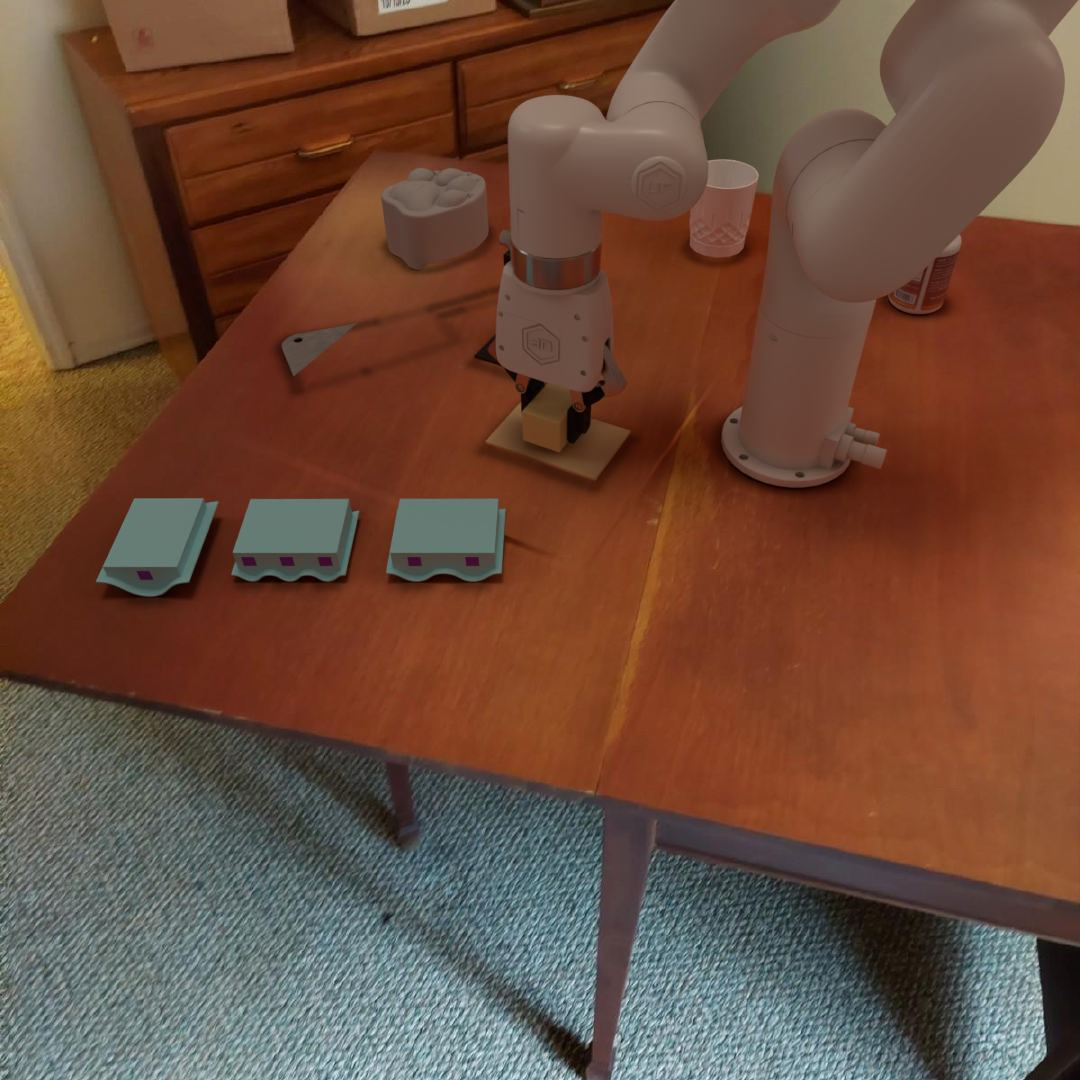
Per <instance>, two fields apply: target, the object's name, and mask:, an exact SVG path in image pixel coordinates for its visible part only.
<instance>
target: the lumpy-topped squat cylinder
mask: <svg viewBox="0 0 1080 1080" xmlns="http://www.w3.org/2000/svg"><path fill="white" fill-rule="evenodd" d="M380 199H381V207H382V214H383V222H384V227H385V229H384V230H385V236H386V242H387V249H388V251H389V253H391V254H392V255H394V256H396V257H398V258H400V259H401V260H402V261H403V262H404V263H405V264H406V265H407V266H408V267H409V268H410V269H413V270H416V271H422V270H423V269H425V267H427V266H428V265H431V264H437V263H440V262H445V261H448V260H450V259H453V258H456V257H458V256H461V255H464V254H466V253H469V252H472V251H473V250H475V249H477V248H478V247H479V246H480V245H481V244H482V243H484V241H485V240H486V239H487V237H488V235H489V231H490V227H489V212H488V196H487V183H486V181H485V179H484V177H482V175H479V174H476V173H474V172H473V173H472V171H471V172H470V171H462V170H461V169H458V168H454V167H448V168H445V169H443V170H441V171H440V170H438V169H437V170H434V171H432V170H430V169H428V168H426V167H417V168H415V169H413V170H411V171H410V172H409V174H408V175H407V179H403V180H402V181H398V182H396V183H393V184H391V185H389V186H387V187H386V188H384V190H383V191H382V193H381V194H380Z"/></svg>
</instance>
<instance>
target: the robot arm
mask: <svg viewBox="0 0 1080 1080" xmlns="http://www.w3.org/2000/svg"><path fill="white" fill-rule="evenodd" d="M1078 1H1079V0H914V1H913V3H912V4H911V5H910V7H909V8H908V9H907V10H906V11H905V13H904V14H903V15H902V16H901V18H900V19H899V20H898V22H897V23H896V25H894V27H893V29H892V30H891V33H890V34H889V36H888V37H887V39H886V41H885V43H884V45H883V48H882V52H881V55H880V59H879V78H880V81H881V85H882V88H883V91H884V94H885V97H886V99H887V101H888V103H889V105H890V106H891V108H892V111H893V112H894V113H895V115H894V116H893V118H892V119H890V121H889V122H888V124H887V125H886V124H885V123H884V122H883V121H882V120H881V119H880V118H878V117H877V116H876V115H873V114H872V113H869V112H867V111H864V110H861V109H857V108H852V107H851V108H848V107H842V108H835V109H829V110H827V111H823V112H821V113H819V114H817V115H815V116H813V117H811V118H810V119H809V120H807V121H806V122H804V123H803V124H802V125H801V126H800V127H799V128H798V129H797V130H796V131H795V132H794V133H793V134H792V136H791V137H790V138H789V140H788V141H787V143H786V145H785V146H784V148H783V150H782V152H781V154H780V157H779V158H778V163H777V164H776V165H777V166H776V169H775V174H774V176H773V177H774V178H773V184H772V190H771V191H772V194H771V205H770V218H769V232H768V243H767V244H768V245H767V254H766V261H765V269H764V276H763V282H762V289H761V294H760V299H759V304H758V311H757V316H756V323H755V329H754V334H753V339H752V346H751V353H750V358H749V364H748V370H747V376H746V382H745V388H744V394H743V400H742V406H740V407H738V408H736V409H735V410H734V411H732V412H731V413H730V414H729V415H728V417H727V418H726V420H725V421H724V423H723V425H722V431H721V437H720V438H721V441H720V442H721V447H722V451H723V453H724V454H725V456H726V458H727V460H729V462H730V463H731V464H732V466H734V467H735V468H737V469H738V470H739V471H740V472H742V473H743V474H745V475H747V476H748V477H750V478H752V479H754V480H757V481H760V482H762V483H764V484H767V485H773V486H776V487H783V488H792V489H793V488H794V489H795V488H797V489H798V488H802V489H803V488H809V487H817V486H819V485H823V484H826V483H829V482H830V481H832V480H835V479H836V478H838V477H839V476H840V475H842V474H843V473H844V472H845V471H846V469H847V468H848V467H849V466H850V463H851V461H854V462H857V463H860V464H861V465H864V466H867V467H870V468H873V469H877V470H881V469H882V466H883V463H884V461H885V458H886V455H887V452H888V449H886V448H882V447H880V446H877V445H878V442H879V439H880V435H881V433H879V432H877V431H873V430H870V429H864V428H861V427H857V424H856V423H853V422H852V418H853V414H854V410H855V409H854V407H851V406H849V403H850V400H851V396H852V391H853V389H854V388H853V387H854V384H855V380H856V376H857V372H858V368H859V365H860V361H861V357H862V353H863V350H864V346H865V342H866V338H867V334H868V331H869V327H870V324H871V321H872V318H873V315H874V311H875V307H876V303H877V300H878V299H881V298H883V297H886V296H888V294H890V293H892V292H894V291H896V290H898V289H899V288H901V287H902V286H904V285H905V284H907V283H908V282H909V281H911V280H912V279H913V278H915V277H916V276H917V275H918V274H919V273H921V272H922V271H923V270H924V269H925V268H926V267H927V266H928V265H929V264H930V263H931V262H932V261H933V260H934V259H935V258H936V257H937V256H938V255H939V254H940V253H941V252H942V251H943V250H944V249H945V248H946V247H947V246H948V245H949V244H950V243H951V242H952V241H953V240H954V239H955V238H956V237H957V236H958V235H959V234H960V235H961V234H962V232H963V231H965V230H966V229H967V227H969V225H971V223H973V221H975V219H977V218H978V216H979V215H980V214H981V213H983V211H984V210H985V209H986V208H987V207H988V206H989V205H990V204H991V203H993V201H994V200H995V199H996V198H997V197H998V196H999V195H1000V194H1001V193H1002V192H1003V191H1004V190H1006V188H1007V187H1008V186H1009V185H1010V184H1011V183H1012V182H1013V181H1014V180H1015V179H1016V177H1018V175H1019V174H1020V173H1021V172H1022V171H1023V170H1024V169H1025V168H1026V167H1027V166H1028V164H1029V163H1030V162H1031V161H1032V160H1033V158H1034V157H1035V156H1036V155H1037V154H1038V152H1039V151H1040V149H1041V148H1042V146H1043V145H1044V144H1045V142H1046V141H1047V138H1048V137H1049V135H1050V134H1051V131H1052V130H1053V128H1054V125H1055V124H1056V121H1057V119H1058V116H1059V114H1060V112H1061V108H1062V104H1063V100H1064V95H1065V89H1066V87H1065V86H1066V78H1065V69H1064V64H1063V61H1062V59H1061V56H1060V53H1059V51H1058V49H1057V47H1056V45H1055V44H1054V42H1053V41H1052V40H1051V38H1050V35H1051V34H1052V33H1053V32H1054V31H1055V29H1056V27H1057V26H1059V24H1060V23H1061V22H1062V21H1063V19H1065V17H1066V16H1067V15H1068V14H1069V12H1070V11H1071V10H1072V9H1073V8H1074V6H1075V5H1076V4H1077V3H1078ZM841 2H842V0H674V1H673V2H672V3H671V5H670V6H669V7H668V9H667V10H666V11H665V12H664V14H663V15H662V16H661V18H660V19H659V21H658V22H657V24H656V26H655V27H654V28H653V30H652V32H650V34H649V36H648V37H647V39H646V40H645V43H644V44H643V45H642V47H641V48H640V50H639V52H638V53H637V55H636V56H635V58H634V59H633V61H632V62H631V64H630V66H629V67H628V69H627V70H626V72H625V73H624V75H623V77H622V79H621V80H620V82H619V84H618V85H617V87H616V89H615V91H614V93H613V95H612V97H611V100H610V102H609V106H608V109H607V113H606V119H605V117H604V115H603V113H602V111H601V109H600V108H599V107H598V106H597V105H595V104H594V103H592V102H591V101H590V100H587V99H585V98H581V97H578V96H573V95H567V94H551V95H550V94H548V95H542V96H537V97H534V98H530V99H528V100H525V101H523V102H522V103H520V104H519V105H518V106H517V107H516V108H515V109H514V110H513V112H512V113H511V115H510V118H509V121H508V125H507V156H508V157H507V158H508V183H509V185H508V186H509V209H510V210H509V212H510V230H507V229H503V230H502V231H500V234H499V237H498V243H499V246H501V247H506V249H507V250H509V249H510V261H509V262H508V263H507V264H506V265H505V266H504V265H503V269H502V272H501V279H500V284H499V290H498V296H497V297H498V298H497V303H496V304H497V305H496V316H495V317H496V318H495V319H496V320H495V334H496V338H495V340H494V341H493V342H492V343H491V345H490V346H489V347H488V352H489V353H490V354H491V355H492V356H493V357H494V358H495V359H496V360H497V361H498V362H499V363H500V364H501V365H502V366H501V367H503V370H504V371H505V372H506V373H507V374H508V375H509V377H510V378H511V379H512V380H513V382H514V388H515V390H516V391H517V393H519V394H520V402H521V413H522V411H523V410H524V409H525V408H526V407H527V405H528V404H529V403H530V402H531V401H532V400H533V399H534V398H535V397H536V395H537V394H538V393H539V392H540V391H541V390H542V389H543V388H544V386H545V385H546V384H547V383H549V384H553V385H556V386H559V387H562V388H566V389H569V390H570V394H571V400H572V405H571V406H570V408H569V409H568V411H567V440H568V442H569V443H572V444H574V443H575V442H576V441H577V439H578V438H579V437H580V436H581V434H585V433H586V432H587V431H588V429H589V427H590V423H591V418H592V406H593V405H594V404H596V403H598V402H600V401H601V400H602V399H604V398H611V397H614V396H617V395H620V394H622V393H623V391H624V390H625V389H626V387H627V386H628V381H627V380H626V378H625V376H624V374H623V372H622V370H621V368H620V367H619V365H618V363H617V361H616V359H615V357H614V344H615V343H614V341H615V340H614V339H615V338H614V335H615V333H614V313H613V303H612V295H611V294H612V293H611V287H610V283H609V278H608V274H607V272H606V271H605V270H604V269H601V268H602V245H603V241H602V240H603V218H604V217H603V216H604V213H608V214H612V215H616V216H617V215H618V216H622V217H627V218H631V219H636V220H642V221H652V222H655V221H657V222H658V221H659V222H661V221H667V220H673V219H675V218H679V217H680V216H683V215H685V214H686V213H688V212H690V209H692V208H693V207H694V206H695V205H696V204H697V202H698V201H699V199H700V198H701V196H702V195H703V193H704V190H705V187H706V184H707V180H708V161H709V160H708V155H707V150H706V145H705V141H704V135H703V130H702V125H701V123H702V121H703V119H704V118H705V117H706V115H707V114H708V112H709V111H710V109H711V108H712V107H713V105H714V104H715V102H716V101H717V99H718V98H719V96H720V95H721V94H722V93H723V91H724V90H725V88H726V87H727V86H728V85H729V83H730V82H731V81H732V79H733V78H734V77H735V75H737V73H738V72H739V71H740V70H741V69H742V67H743V66H744V65H745V64H746V63H747V62H748V61H749V60H750V59H751V58H752V57H753V56H754V55H755V54H757V52H759V51H760V50H761V49H762V48H764V47H765V46H767V45H768V44H770V43H771V42H773V41H775V40H777V39H780V38H783V37H785V36H788V35H793V34H795V33H799V32H800V33H801V32H803V31H806V30H808V29H809V30H810V29H811V28H814V27H816V26H817V25H820V24H821V23H823V22H824V21H825V20H827V18H829V16H831V15H832V13H833V12H834V11H835V10H836V9H837V7H838V6H839V4H840V3H841ZM600 377H601V378H602V379H601V380H600Z"/></svg>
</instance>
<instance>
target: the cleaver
mask: <svg viewBox="0 0 1080 1080" xmlns="http://www.w3.org/2000/svg"><path fill="white" fill-rule="evenodd" d="M356 325H358V322H354V323H349V324H345V325H340V326H334V327H333V326H332V327H328V328H322V329H317V330H313V331H307V332H301V333H295V334H293V335H290V336H288V337H286V339H284V340H283V341H282V343H281V349H282V352H283V355H284V358H285V360H286V362H287V365H288V367H289V370H290V372H291V374H292V377H293V378H294V377H295V376H297V374H299V373H300V372H301V371H302V370H303V369H305V368H306V367H307V366H308V365H309V364H311V363H312V362H313V361H314V360H316V359H317V358H318V357H319V356H320V355H321V354H323V353H324V352H325V351H326V350H327V349H328V348H330V347H331V346H332V345H333V344H334V343H336V342H337V341H338V340H340V338H342V337H344V335H345V334H347V333H348V332H349V331H350V330H351V329H352V328H353V327H354V326H356ZM296 340H301V341H300V342H296Z"/></svg>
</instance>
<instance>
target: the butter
mask: <svg viewBox="0 0 1080 1080" xmlns="http://www.w3.org/2000/svg"><path fill="white" fill-rule="evenodd" d="M571 405H572V400H571V394H570V390H569V389H566V388H562V387H559V386H556V385H553V384H549V383H545V386H544V388H543V389H542V390H541V391H540V392H539V393H538V394H537V395H536V397H535V398H534V399H533V400H532V401H531V402H530V403H529V404H528V405H527V407H526V408H525V409H524V410H523V411H522V425H523V440H524V441H527V442H530V443H533V444H536V445H539V446H542V447H545V448H548V449H551V450H553V451H556V452H560V451H561V450H562V449H563V447H564V446H565V445H566V444H567V442H568V440H567V411H568V409H569V408H570V406H571Z"/></svg>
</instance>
